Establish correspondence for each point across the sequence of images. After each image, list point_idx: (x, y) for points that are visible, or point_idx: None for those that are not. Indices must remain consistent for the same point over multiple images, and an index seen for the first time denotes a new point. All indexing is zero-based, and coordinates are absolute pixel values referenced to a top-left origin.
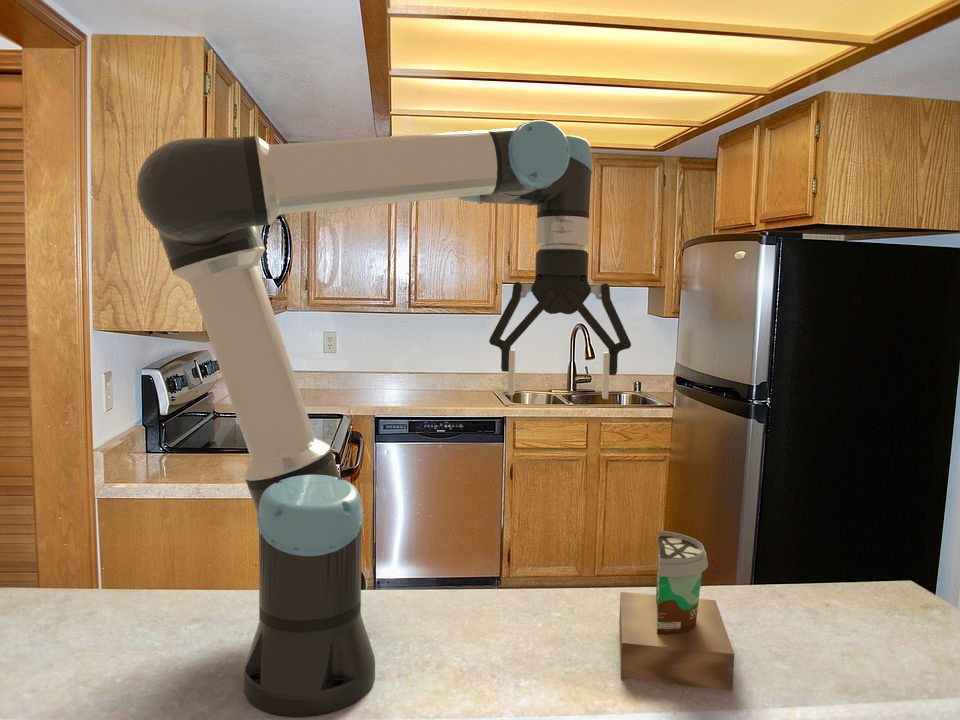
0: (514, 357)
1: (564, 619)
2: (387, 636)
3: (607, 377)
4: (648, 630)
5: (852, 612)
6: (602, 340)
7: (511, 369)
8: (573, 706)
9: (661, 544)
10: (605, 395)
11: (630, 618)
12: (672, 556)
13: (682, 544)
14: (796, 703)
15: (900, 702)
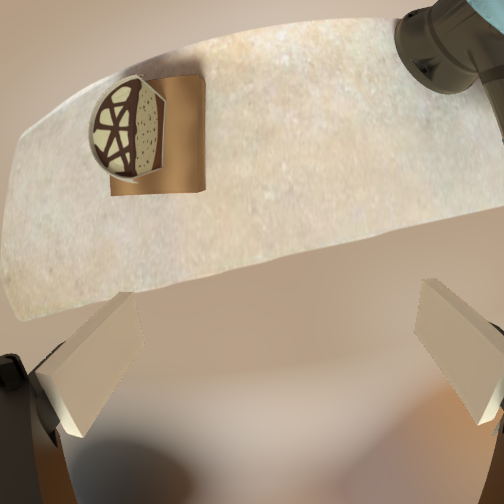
0: (483, 360)
1: (259, 184)
2: (413, 122)
3: (90, 322)
4: (173, 105)
5: (38, 259)
6: (27, 419)
7: (471, 316)
8: (242, 37)
9: (131, 144)
10: (122, 297)
11: (188, 126)
12: (123, 108)
13: (109, 156)
14: (89, 93)
15: (38, 122)
